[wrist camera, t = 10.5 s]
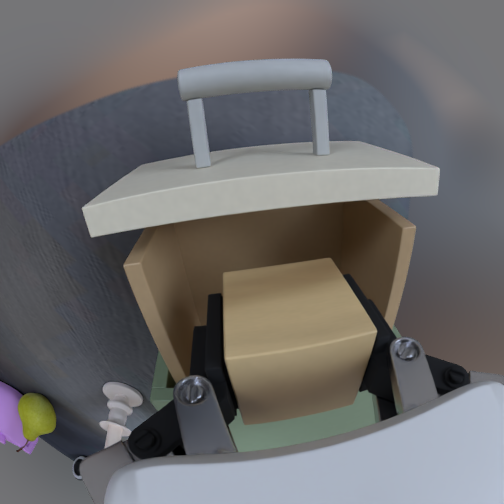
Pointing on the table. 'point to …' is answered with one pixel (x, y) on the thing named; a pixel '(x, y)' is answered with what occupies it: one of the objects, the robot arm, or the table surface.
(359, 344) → the block
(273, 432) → the cabinet
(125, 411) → the candle
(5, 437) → the teapot
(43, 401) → the fruit
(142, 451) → the robot arm
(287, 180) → the drawer
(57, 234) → the table surface
